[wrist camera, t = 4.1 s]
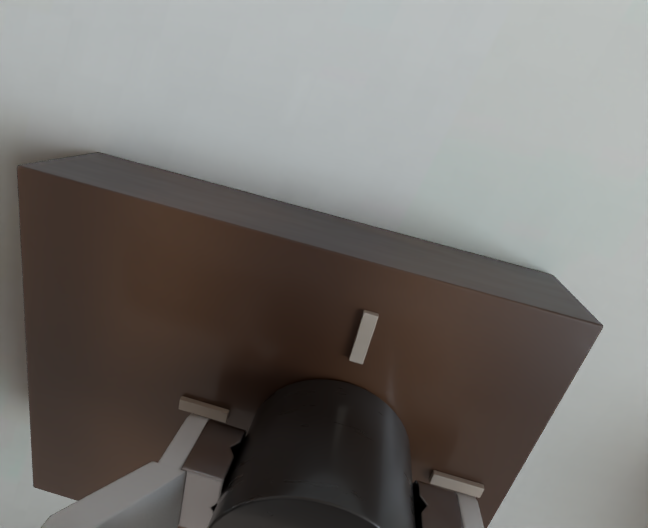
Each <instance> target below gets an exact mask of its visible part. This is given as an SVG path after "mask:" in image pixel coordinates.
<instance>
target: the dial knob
mask: <svg viewBox="0 0 648 528" xmlns="http://www.w3.org/2000/svg"><path fill="white" fill-rule="evenodd" d="M207 528H416V524H415V510H414V496H413V482H412V468H411V454H410V443H409V438H408V435H407V432H406V429H405V427H404V425H403V424H402V422H401V420H400V419H399V417H398V416H397V415H396V413H395V412H394V411H393V410H392V409H391V408H390V407H389V406H388V405H387V404H386V403H385V402H384V401H382V400H381V399H380V398H379V397H377V396H375V395H374V394H372V393H371V392H369V391H367V390H365V389H363V388H360V387H358V386H355V385H352V384H349V383H345V382H341V381H336V380H327V379H314V380H305V381H301V382H296V383H293V384H290V385H287V386H285V387H283V388H281V389H279V390H277V391H276V392H275V393H273V394H272V395H270V396H269V397H268V398H267V399H266V400H265V401H264V402H263V403H262V404H261V406H260V407H259V408H258V410H257V412H256V414H255V416H254V418H253V421H252V423H251V425H250V428H249V430H248V432H247V435H246V437H245V440H244V442H243V445H242V447H241V449H240V452H239V454H238V457H237V459H236V461H235V463H234V465H233V468H232V470H231V473H230V475H229V478H228V480H227V483H226V485H225V487H224V490H223V492H222V494H221V497H220V499H219V501H218V503H217V506H216V508H215V510H214V513H213V515H212V517H211V520H210V522H209V524H208V527H207Z"/></svg>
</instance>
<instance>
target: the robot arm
mask: <svg viewBox="0 0 648 528" xmlns="http://www.w3.org/2000/svg"><path fill="white" fill-rule="evenodd" d="M245 437H246V430H243V429H240V428H237V427H234V426H231V425H228V424H224V423H221V422H218V421H215V420H212V419H208V418H205V417H202V416H198V415H195V414H192V413H191V414H190V415H189V416H188V417H187V418H186V420H185V421H184V423H183V424H182V426H181V428H180V429H179V431H178V432H177V434H176V435H175V437H174V438H173V440H172V442H171V443H170V445H169V446H168V448H167V449H166V451H165V453H164V454H163V456H162V457H161V459H160V460H159V462H158V463H157V462H153V461H152V462H150V463H148V464H146V465H144V466H142V467H140V468H139V469H137V470H135V471H133V472H131V473H129V474H127V475H126V476H124V477H122V478H120V479H118V480H116V481H114V482H113V483H111V484H109V485H107V486H105V487H103V488H101V489H99V490H98V491H96V492H94V493H92V494H90V495H88V496H86V497H85V498H83V499H81V500H79V501H77V502H75V503H73V504H71V505H70V506H68V507H66V508H64V509H62V510H60V511H58V512H57V513H55V514H53V515H51V516H50V517H49V518H48V519H47V521H46V522H45V523H44V524H43V525H42V527H41V528H178V526H181V527H185V528H207V527H208V524H209V522H210V520H211V517H212V515H213V513H214V510H215V508H216V506H217V503H218V501H219V499H220V497H221V494H222V492H223V490H224V487H225V485H226V483H227V480H228V478H229V475H230V473H231V470H232V468H233V465H234V463H235V461H236V459H237V457H238V454H239V452H240V449H241V447H242V445H243V442H244V440H245ZM413 496H414V510H415V524H416V528H484V526H483V522H482V517H481V513H480V509H479V505H478V501H477V500H476V498H475V497H473V496H470V495H466V494H463V493H459V492H456V491H453V490H449V489H446V488H442V487H439V486H435V485H431V484H428V483H424V482H421V481H417V480H415V481H414V482H413Z"/></svg>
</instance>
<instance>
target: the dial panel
mask: <svg viewBox="0 0 648 528" xmlns="http://www.w3.org/2000/svg"><path fill="white" fill-rule="evenodd" d="M17 179H18V198H19V217H20V236H21V256H22V275H23V294H24V313H25V333H26V352H27V371H28V390H29V410H30V429H31V448H32V468H33V486H34V487H35V488H38V489H41V490H45V491H48V492H51V493H54V494H58V495H61V496H64V497H67V498H71V499H74V500H77V501H79V500H81V499H83V498H85V497H86V496H88V495H90V494H92V493H94V492H96V491H98V490H99V489H101V488H103V487H105V486H107V485H109V484H111V483H113V482H114V481H116V480H118V479H120V478H122V477H124V476H126V475H127V474H129V473H131V472H133V471H135V470H137V469H139V468H140V467H142V466H144V465H146V464H148V463H150V462H152V461H153V462H157V463H158V462H159V460H160V459H161V457H162V456H163V454H164V453H165V451H166V449H167V448H168V446H169V445H170V443H171V442H172V440H173V438H174V437H175V435H176V434H177V432H178V431H179V429H180V428H181V426H182V424H183V423H184V421H185V420H186V418H187V417H188V416H189V415H190V414H191V413H192V414H195V415H198V416H202V417H205V418H208V419H212V420H215V421H218V422H221V423H224V424H228V425H231V426H234V427H237V428H240V429H243V430H246V435H247V432H248V430H249V428H250V425H251V423H252V421H253V418H254V416H255V414H256V412H257V410H258V408H259V407H260V406H261V404H262V403H263V402H264V401H265V400H266V399H267V398H268V397H269V396H270V395H272V394H273V393H275V392H276V391H277V390H279V389H281V388H283V387H285V386H287V385H290V384H293V383H296V382H301V381H305V380H314V379H327V380H336V381H341V382H345V383H349V384H352V385H355V386H358V387H360V388H363V389H365V390H367V391H369V392H371V393H372V394H374V395H375V396H377V397H379V398H380V399H381V400H382V401H384V402H385V403H386V404H387V405H388V406H389V407H390V408H391V409H392V410H393V411H394V412H395V413H396V415H397V416H398V417H399V419H400V420H401V422H402V424H403V425H404V427H405V429H406V432H407V435H408V438H409V443H410V454H411V468H412V482H414V481H415V480H417V481H421V482H424V483H428V484H431V485H435V486H439V487H442V488H446V489H449V490H453V491H456V492H459V493H463V494H466V495H470V496H473V497H475V498H476V500H477V501H478V505H479V509H480V513H481V517H482V522H483V526H484V528H487V527H488V525H489V523H490V522H491V520H492V518H493V516H494V515H495V513H496V511H497V509H498V508H499V506H500V504H501V503H502V501H503V499H504V497H505V496H506V494H507V492H508V491H509V489H510V487H511V485H512V484H513V482H514V480H515V478H516V477H517V475H518V473H519V472H520V470H521V468H522V466H523V465H524V463H525V461H526V459H527V458H528V456H529V454H530V453H531V451H532V449H533V447H534V446H535V444H536V442H537V440H538V439H539V437H540V435H541V434H542V432H543V430H544V428H545V427H546V425H547V423H548V421H549V420H550V418H551V416H552V415H553V413H554V411H555V409H556V408H557V406H558V404H559V402H560V401H561V399H562V397H563V396H564V394H565V392H566V390H567V389H568V387H569V385H570V384H571V382H572V380H573V378H574V377H575V375H576V373H577V371H578V370H579V368H580V366H581V365H582V363H583V361H584V359H585V358H586V356H587V354H588V352H589V351H590V349H591V347H592V346H593V344H594V342H595V340H596V339H597V337H598V335H599V333H600V332H601V330H602V328H603V325H602V324H601V323H600V322H599V321H598V320H597V319H596V318H595V317H594V316H593V315H592V314H591V313H590V312H589V311H588V310H587V309H586V308H585V307H584V306H583V305H582V304H581V303H580V302H579V301H578V300H577V299H576V298H575V297H574V296H573V295H572V294H571V293H570V292H569V291H568V290H567V289H566V288H565V287H564V286H563V285H562V284H561V283H560V281H559V280H558V279H557V278H556V277H555V276H553V275H551V274H547V273H544V272H540V271H536V270H532V269H529V268H525V267H521V266H518V265H514V264H510V263H506V262H503V261H499V260H495V259H492V258H488V257H484V256H481V255H477V254H473V253H469V252H466V251H462V250H458V249H455V248H451V247H447V246H444V245H440V244H436V243H432V242H429V241H425V240H421V239H418V238H414V237H410V236H406V235H403V234H399V233H395V232H392V231H388V230H384V229H381V228H377V227H373V226H369V225H366V224H362V223H358V222H355V221H351V220H347V219H344V218H340V217H336V216H332V215H329V214H325V213H321V212H318V211H314V210H310V209H306V208H303V207H299V206H295V205H292V204H288V203H284V202H281V201H277V200H273V199H269V198H266V197H262V196H258V195H255V194H251V193H247V192H244V191H240V190H236V189H232V188H229V187H225V186H221V185H218V184H214V183H210V182H206V181H203V180H199V179H195V178H192V177H188V176H184V175H181V174H177V173H173V172H169V171H166V170H162V169H158V168H155V167H151V166H147V165H144V164H140V163H136V162H132V161H129V160H125V159H121V158H118V157H114V156H110V155H106V154H103V153H99V152H97V153H91V154H85V155H78V156H72V157H66V158H60V159H54V160H48V161H41V162H35V163H29V164H23V165H18V166H17ZM178 528H185V527H181V526H178Z"/></svg>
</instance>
